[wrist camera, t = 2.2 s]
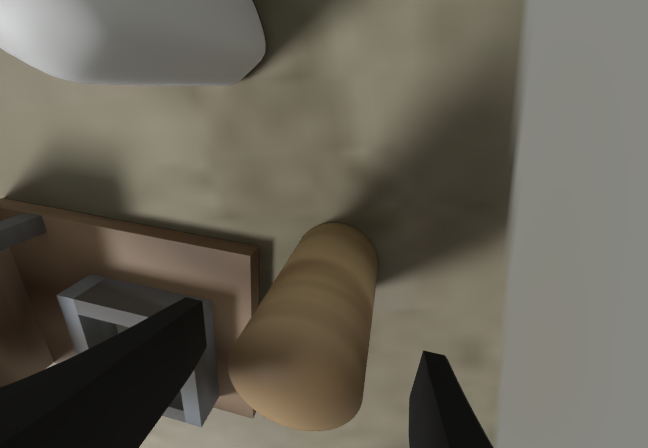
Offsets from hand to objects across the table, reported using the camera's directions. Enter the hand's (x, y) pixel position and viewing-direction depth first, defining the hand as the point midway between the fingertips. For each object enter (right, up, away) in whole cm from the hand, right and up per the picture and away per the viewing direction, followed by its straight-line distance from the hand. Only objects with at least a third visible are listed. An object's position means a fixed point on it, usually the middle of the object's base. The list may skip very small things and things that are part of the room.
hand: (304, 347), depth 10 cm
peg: (+1, +2, +5) cm, 6 cm away
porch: (-11, -1, +10) cm, 15 cm away
